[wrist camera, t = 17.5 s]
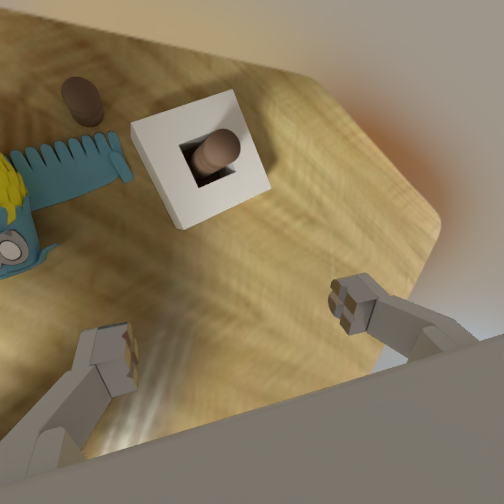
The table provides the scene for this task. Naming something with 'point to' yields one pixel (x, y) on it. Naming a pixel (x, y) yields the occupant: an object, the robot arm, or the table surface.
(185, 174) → the hole block
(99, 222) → the table surface
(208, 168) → the long pin
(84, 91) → the short pin
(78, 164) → the blue yellow bird figure
